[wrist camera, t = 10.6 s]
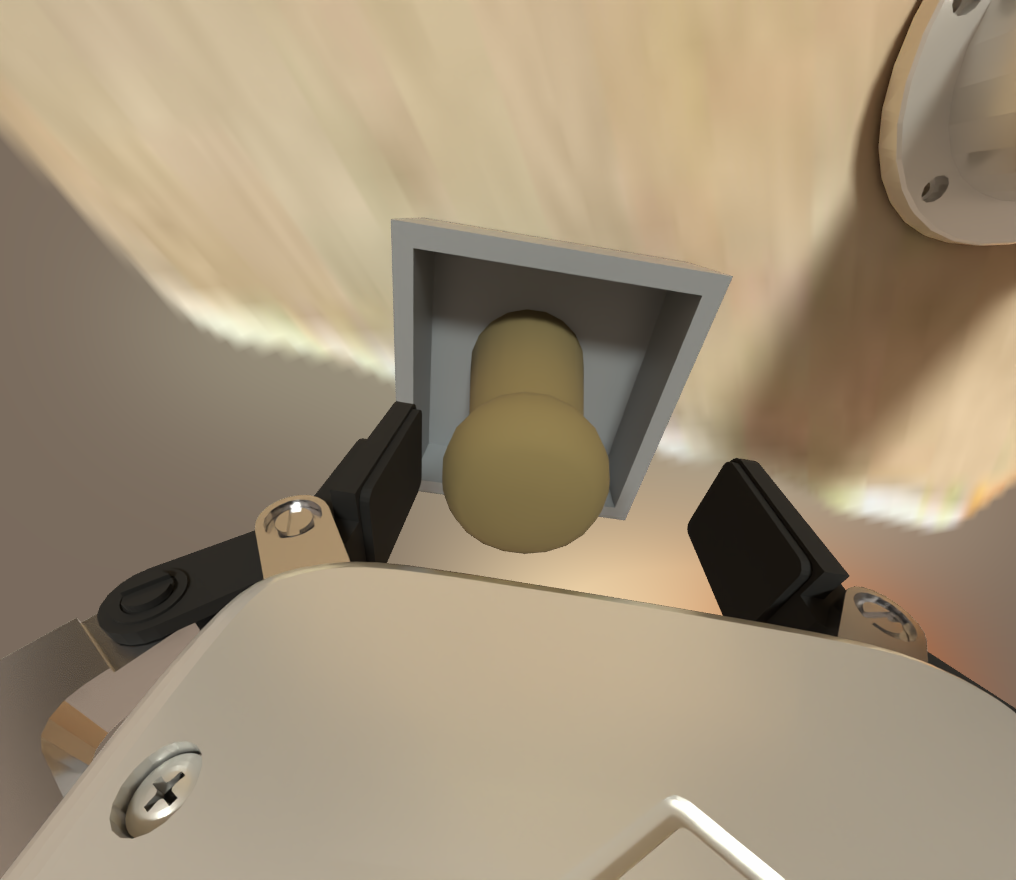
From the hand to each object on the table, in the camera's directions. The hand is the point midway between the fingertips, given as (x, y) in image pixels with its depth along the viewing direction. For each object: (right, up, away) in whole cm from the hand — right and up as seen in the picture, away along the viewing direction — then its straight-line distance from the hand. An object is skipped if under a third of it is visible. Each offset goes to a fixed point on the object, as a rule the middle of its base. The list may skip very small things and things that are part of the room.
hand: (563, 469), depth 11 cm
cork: (-1, +5, +8) cm, 10 cm away
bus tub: (0, +5, +9) cm, 10 cm away
